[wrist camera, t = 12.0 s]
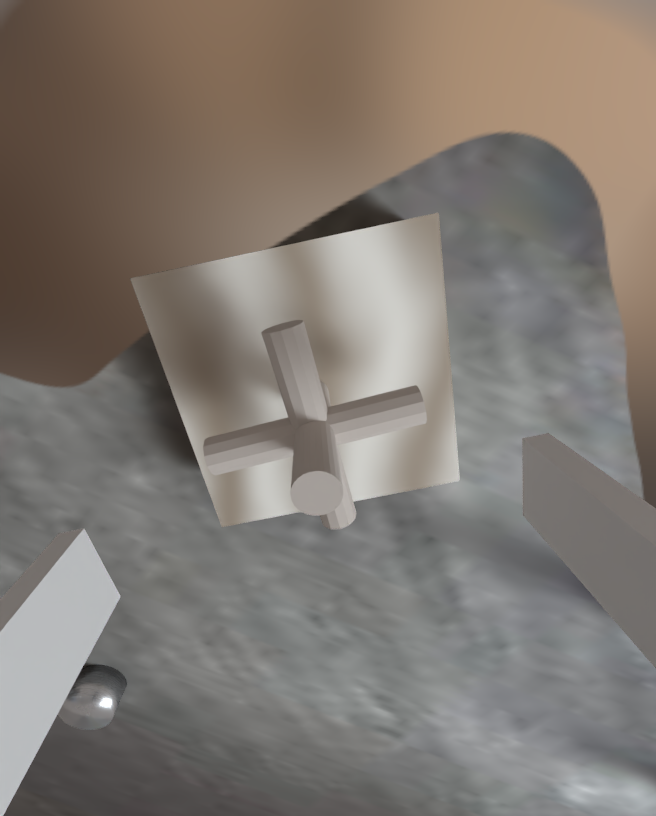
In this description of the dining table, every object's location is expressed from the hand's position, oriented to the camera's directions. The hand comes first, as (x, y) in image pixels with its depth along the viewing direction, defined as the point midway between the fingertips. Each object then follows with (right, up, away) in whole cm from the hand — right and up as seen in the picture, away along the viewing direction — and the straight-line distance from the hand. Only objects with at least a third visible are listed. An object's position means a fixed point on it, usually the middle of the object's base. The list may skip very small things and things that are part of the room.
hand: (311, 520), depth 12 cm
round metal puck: (-23, -24, +28) cm, 43 cm away
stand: (-1, +7, +16) cm, 18 cm away
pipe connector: (0, +4, +11) cm, 12 cm away
